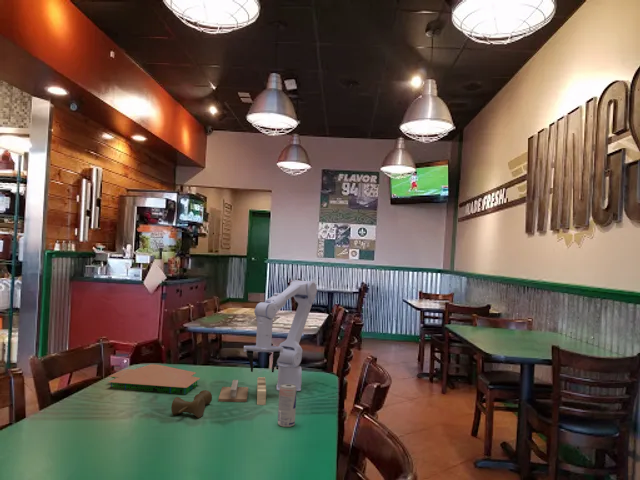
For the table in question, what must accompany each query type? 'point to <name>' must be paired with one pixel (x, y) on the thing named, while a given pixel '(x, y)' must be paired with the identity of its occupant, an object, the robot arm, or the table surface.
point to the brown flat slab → (155, 377)
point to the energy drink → (287, 405)
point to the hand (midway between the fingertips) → (262, 371)
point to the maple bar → (261, 391)
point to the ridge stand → (233, 393)
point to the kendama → (192, 404)
